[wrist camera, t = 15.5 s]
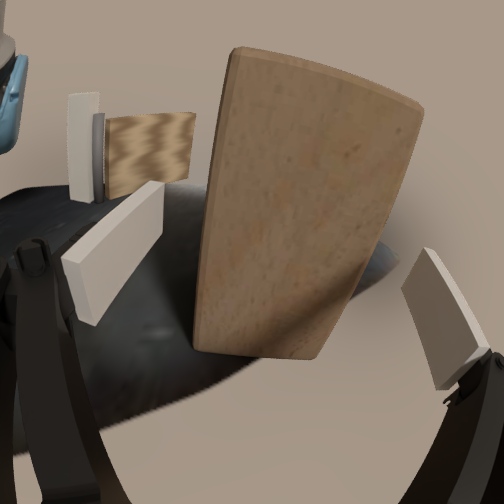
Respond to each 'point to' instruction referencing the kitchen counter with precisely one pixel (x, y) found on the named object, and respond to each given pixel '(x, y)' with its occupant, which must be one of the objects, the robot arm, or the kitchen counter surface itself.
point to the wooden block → (294, 201)
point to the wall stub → (85, 147)
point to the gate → (146, 150)
